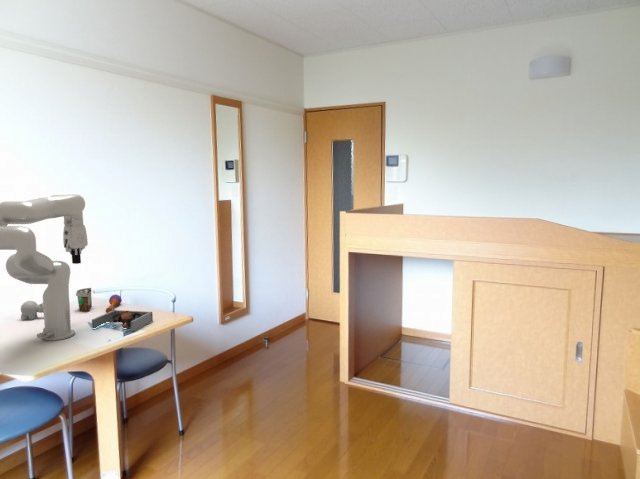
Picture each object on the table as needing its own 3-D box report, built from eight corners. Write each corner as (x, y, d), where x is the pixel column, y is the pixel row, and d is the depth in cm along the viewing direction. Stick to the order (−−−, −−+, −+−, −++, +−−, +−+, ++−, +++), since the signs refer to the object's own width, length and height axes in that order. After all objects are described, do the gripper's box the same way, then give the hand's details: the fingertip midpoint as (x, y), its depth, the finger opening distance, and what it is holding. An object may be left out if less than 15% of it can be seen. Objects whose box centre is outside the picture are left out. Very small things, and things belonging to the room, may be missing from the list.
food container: (79, 307, 245) (78, 288, 244) (92, 306, 247) (91, 287, 246) (74, 313, 233) (73, 293, 232) (88, 312, 235) (87, 292, 234)
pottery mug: (117, 332, 204) (110, 315, 206) (117, 336, 213) (110, 319, 214) (145, 321, 210) (138, 304, 212) (143, 325, 218) (137, 309, 220)
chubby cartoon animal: (46, 320, 222) (45, 302, 221) (18, 321, 220) (17, 303, 219) (52, 315, 229) (51, 298, 228) (25, 317, 227) (23, 299, 226)
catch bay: (133, 331, 204) (133, 321, 203) (92, 329, 207) (91, 319, 206) (152, 321, 220) (152, 311, 219) (114, 319, 223) (113, 310, 222)
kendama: (101, 306, 231) (108, 294, 250) (104, 318, 232) (111, 305, 252) (114, 303, 232) (120, 292, 251) (117, 315, 234) (123, 302, 253)
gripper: (68, 224, 202) (71, 266, 205) (92, 221, 217) (95, 260, 219) (53, 224, 204) (56, 266, 207) (78, 220, 218) (81, 260, 221)
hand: (76, 263), depth 213 cm, fingers closed
